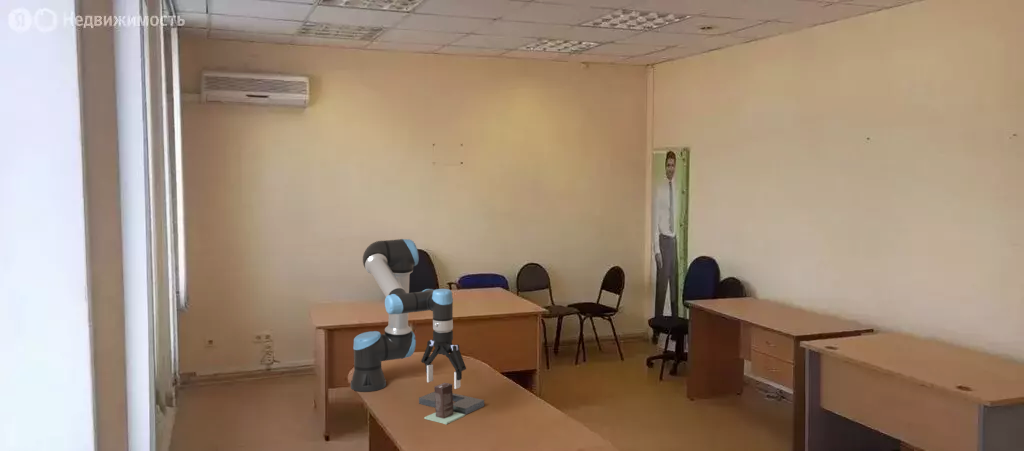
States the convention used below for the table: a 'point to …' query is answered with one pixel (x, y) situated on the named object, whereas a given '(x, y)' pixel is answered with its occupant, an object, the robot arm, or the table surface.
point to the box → (443, 400)
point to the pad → (444, 420)
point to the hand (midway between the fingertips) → (443, 384)
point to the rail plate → (460, 406)
